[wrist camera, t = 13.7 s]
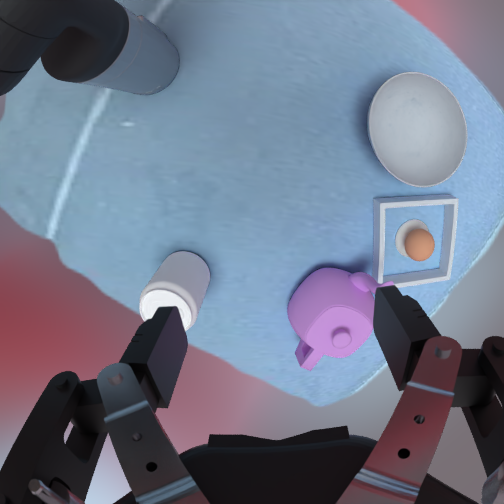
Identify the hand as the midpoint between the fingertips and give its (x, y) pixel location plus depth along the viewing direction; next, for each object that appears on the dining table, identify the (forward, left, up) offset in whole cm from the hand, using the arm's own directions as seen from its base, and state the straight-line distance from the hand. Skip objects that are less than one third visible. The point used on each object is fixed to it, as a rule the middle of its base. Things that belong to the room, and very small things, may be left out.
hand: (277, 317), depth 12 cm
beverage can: (+13, -15, -33) cm, 39 cm away
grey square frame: (+11, +22, -33) cm, 41 cm away
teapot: (+20, +8, -33) cm, 40 cm away
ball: (+11, +22, -33) cm, 41 cm away
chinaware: (-6, +20, -33) cm, 39 cm away
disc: (+11, +22, -33) cm, 41 cm away
